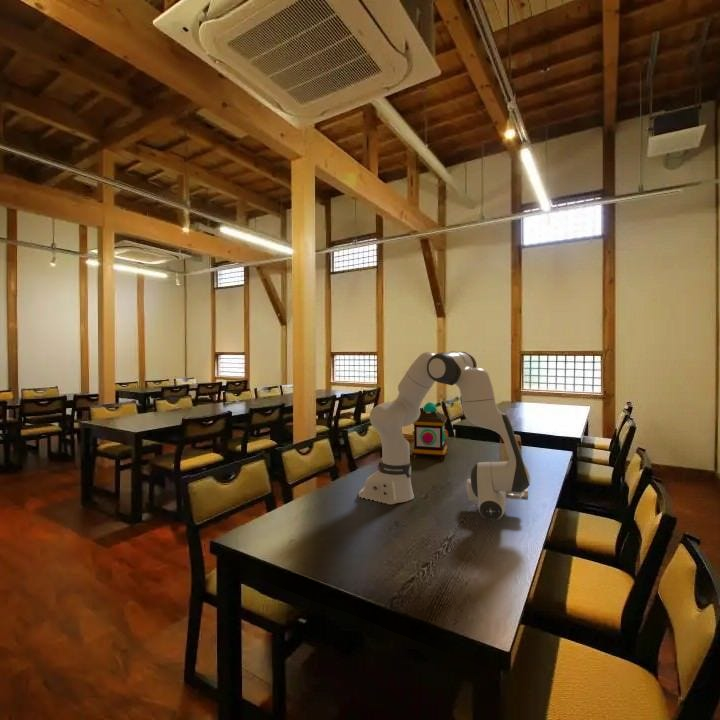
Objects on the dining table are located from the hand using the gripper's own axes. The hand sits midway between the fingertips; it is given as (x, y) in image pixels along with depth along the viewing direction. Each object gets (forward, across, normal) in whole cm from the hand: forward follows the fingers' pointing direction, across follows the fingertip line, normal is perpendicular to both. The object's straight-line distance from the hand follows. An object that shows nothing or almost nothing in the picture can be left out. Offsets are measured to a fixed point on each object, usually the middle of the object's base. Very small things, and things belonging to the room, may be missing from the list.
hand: (495, 481), depth 158 cm
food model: (+35, -5, +8) cm, 36 cm away
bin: (+17, -4, +8) cm, 19 cm away
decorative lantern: (+57, +37, +8) cm, 69 cm away
